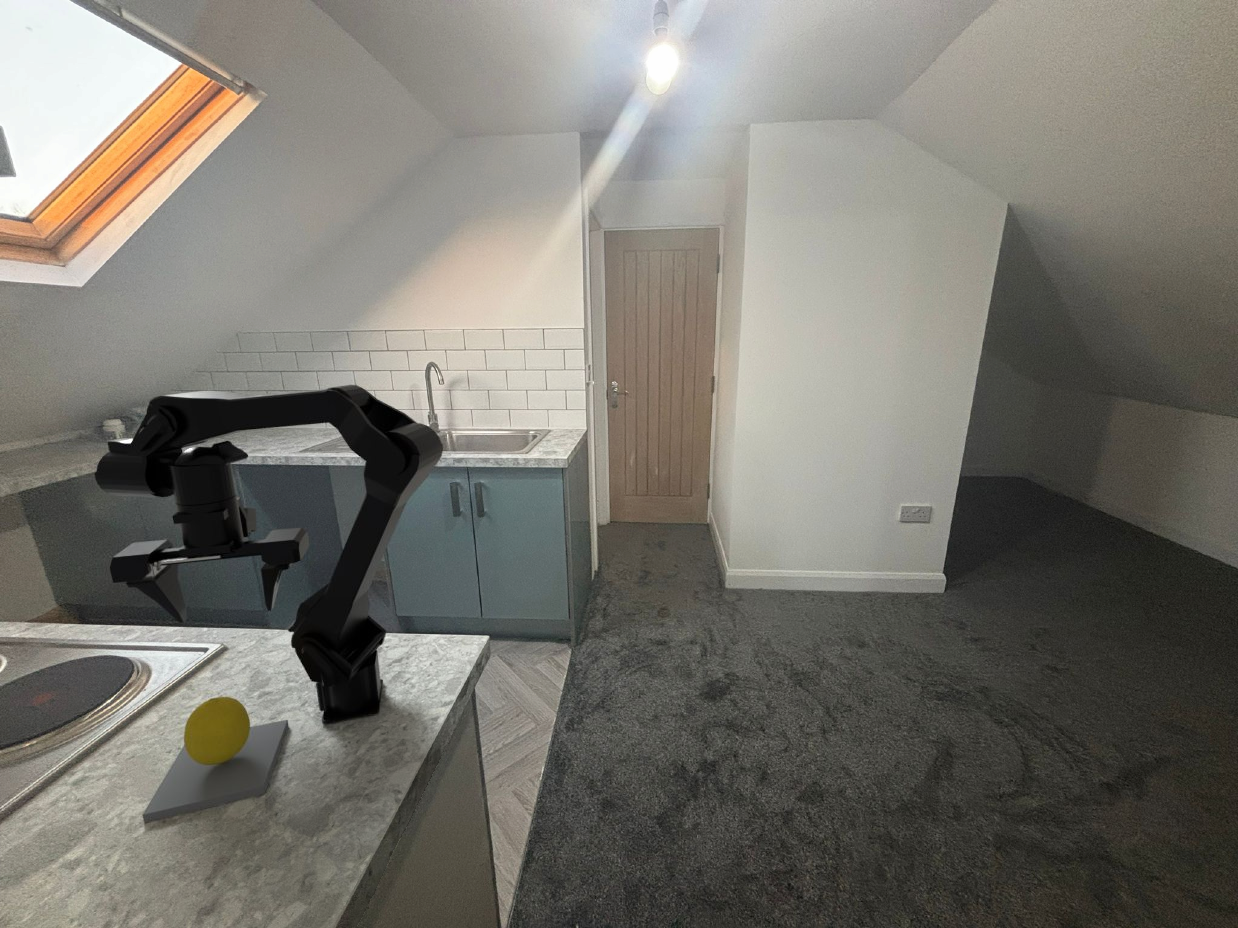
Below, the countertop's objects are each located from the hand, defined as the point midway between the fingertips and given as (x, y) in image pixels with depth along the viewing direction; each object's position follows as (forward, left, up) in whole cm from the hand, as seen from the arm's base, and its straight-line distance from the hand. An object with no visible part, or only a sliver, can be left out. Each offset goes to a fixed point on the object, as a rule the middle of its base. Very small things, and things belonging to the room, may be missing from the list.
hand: (228, 615), depth 64 cm
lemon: (-2, +13, -11) cm, 17 cm away
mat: (-2, +13, -12) cm, 18 cm away
